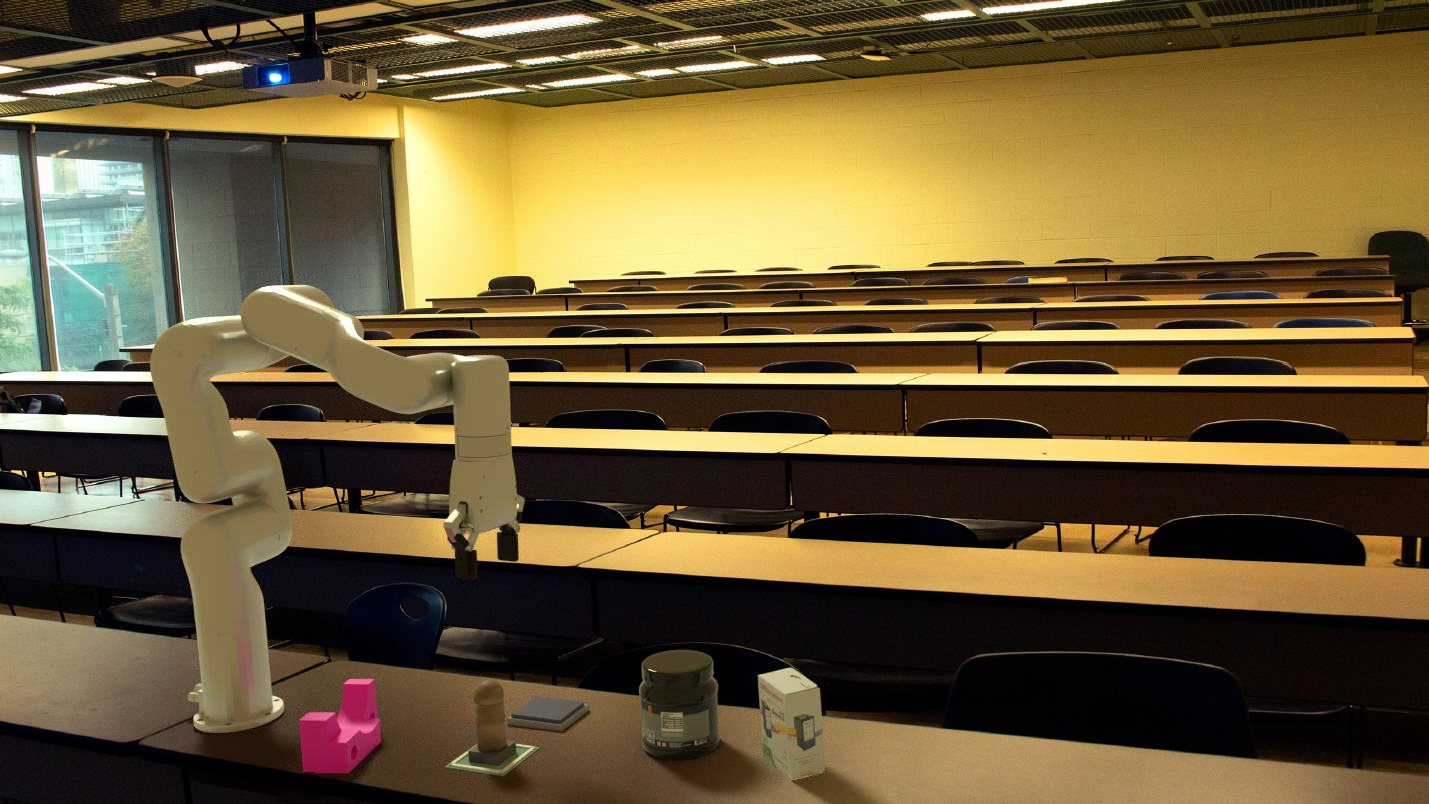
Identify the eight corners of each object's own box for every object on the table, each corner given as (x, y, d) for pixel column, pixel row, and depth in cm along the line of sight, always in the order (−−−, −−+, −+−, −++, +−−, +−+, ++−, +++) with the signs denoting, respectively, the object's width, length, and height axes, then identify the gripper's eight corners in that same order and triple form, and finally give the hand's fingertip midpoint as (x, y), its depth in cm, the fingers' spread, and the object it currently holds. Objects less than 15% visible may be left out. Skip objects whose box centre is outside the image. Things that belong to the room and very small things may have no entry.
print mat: (444, 768, 148) (444, 765, 148) (483, 741, 156) (483, 738, 156) (503, 777, 144) (503, 774, 144) (539, 749, 153) (539, 745, 153)
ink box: (826, 777, 141) (823, 686, 140) (789, 786, 139) (786, 693, 138) (794, 751, 149) (792, 665, 148) (759, 759, 147) (756, 672, 145)
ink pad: (507, 724, 162) (506, 714, 161) (536, 704, 169) (535, 694, 169) (561, 732, 158) (561, 721, 158) (589, 710, 166) (588, 701, 165)
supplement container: (698, 725, 159) (694, 643, 157) (734, 752, 149) (730, 664, 148) (629, 742, 154) (625, 657, 153) (662, 771, 145) (657, 680, 143)
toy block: (348, 775, 148) (344, 720, 147) (303, 774, 148) (298, 720, 148) (395, 729, 162) (391, 679, 162) (353, 728, 163) (349, 678, 162)
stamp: (468, 761, 149) (463, 685, 148) (487, 747, 153) (482, 673, 152) (497, 766, 147) (492, 688, 146) (516, 752, 151) (511, 676, 150)
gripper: (496, 436, 163) (501, 552, 165) (420, 455, 147) (426, 583, 149) (541, 438, 160) (545, 556, 162) (468, 458, 144) (473, 589, 146)
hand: (488, 569), depth 155 cm, fingers open, 9 cm apart
